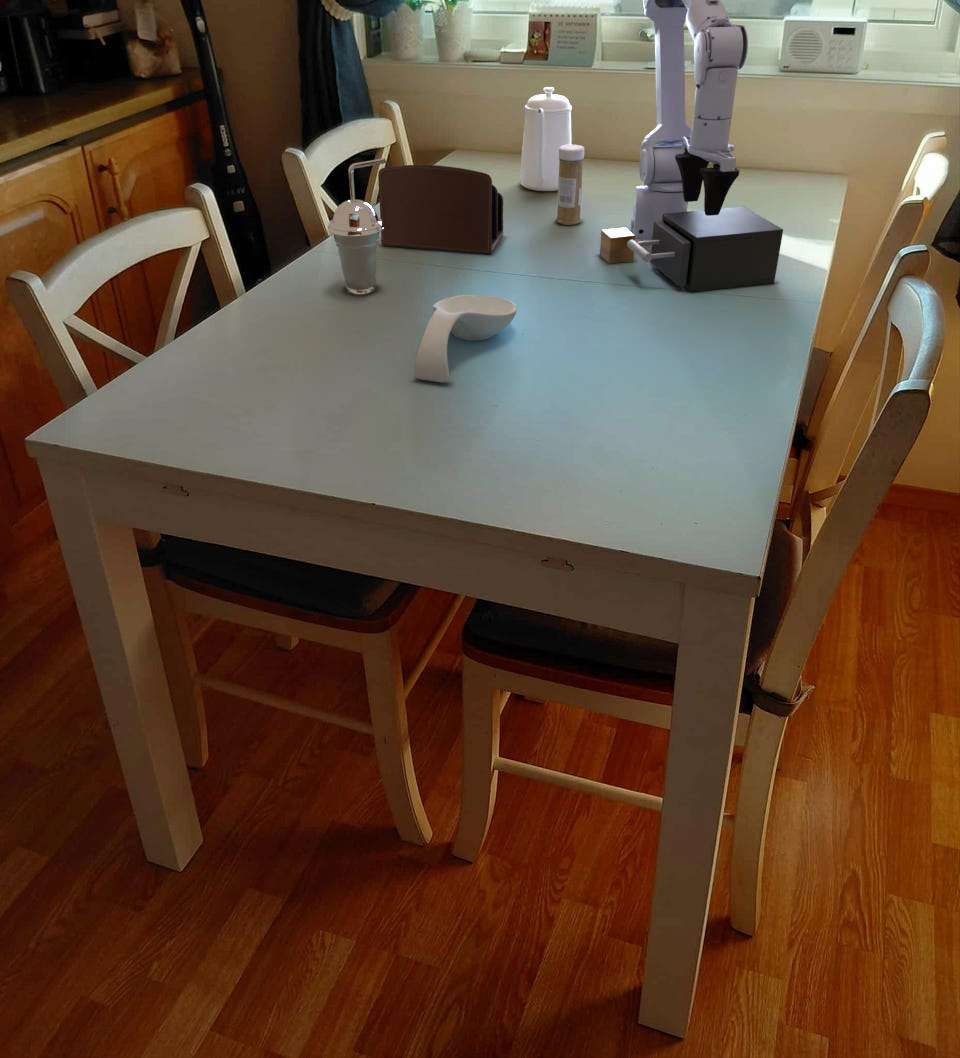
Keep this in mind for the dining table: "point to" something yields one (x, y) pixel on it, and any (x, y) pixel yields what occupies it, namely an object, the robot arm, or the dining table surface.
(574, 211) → the spice jar
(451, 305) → the spoon rest
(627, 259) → the block
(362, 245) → the cup with straw
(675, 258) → the dark grey drawer
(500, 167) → the dining table surface
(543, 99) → the coffeepot
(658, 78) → the robot arm
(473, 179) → the letter holder
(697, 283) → the black drawer cabinet
